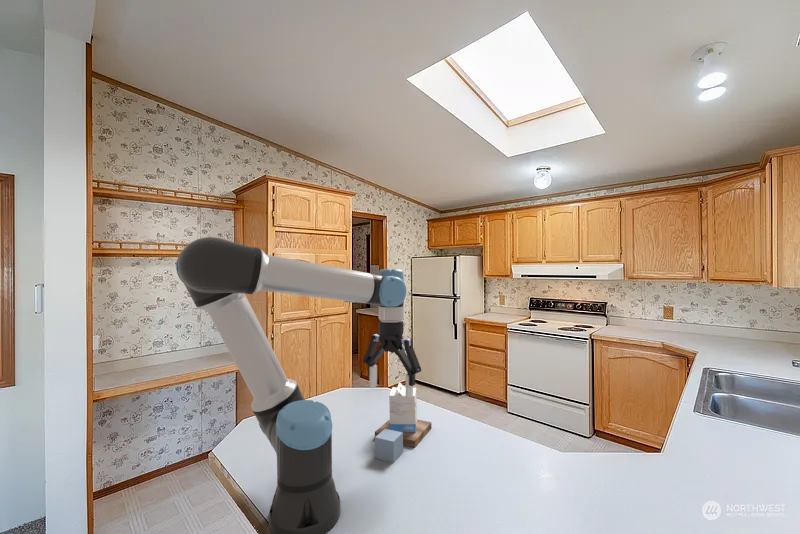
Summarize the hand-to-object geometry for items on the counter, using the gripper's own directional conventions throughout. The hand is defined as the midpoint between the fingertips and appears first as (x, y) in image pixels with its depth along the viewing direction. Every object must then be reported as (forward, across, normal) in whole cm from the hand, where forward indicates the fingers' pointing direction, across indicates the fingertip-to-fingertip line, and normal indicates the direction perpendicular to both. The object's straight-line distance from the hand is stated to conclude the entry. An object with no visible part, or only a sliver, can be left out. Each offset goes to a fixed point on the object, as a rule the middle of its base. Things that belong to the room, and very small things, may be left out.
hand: (390, 391), depth 105 cm
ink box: (+15, +3, -11) cm, 19 cm away
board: (+17, +3, -11) cm, 20 cm away
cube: (+17, -2, +2) cm, 18 cm away
